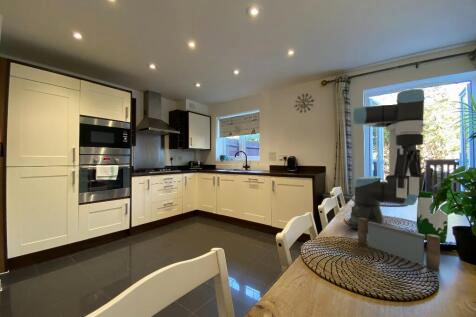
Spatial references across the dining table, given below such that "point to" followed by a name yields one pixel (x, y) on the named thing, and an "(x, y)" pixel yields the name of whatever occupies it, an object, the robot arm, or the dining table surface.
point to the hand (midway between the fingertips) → (407, 196)
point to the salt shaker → (354, 219)
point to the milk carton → (430, 218)
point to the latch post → (433, 252)
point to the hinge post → (362, 231)
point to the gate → (396, 241)
